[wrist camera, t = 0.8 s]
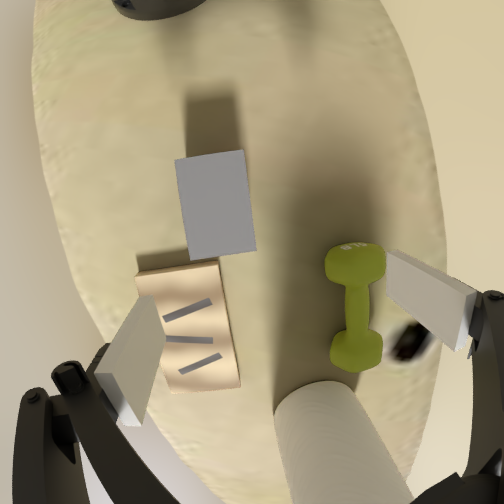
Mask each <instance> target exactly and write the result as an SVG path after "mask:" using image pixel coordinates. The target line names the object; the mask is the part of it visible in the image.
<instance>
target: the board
mask: <svg viewBox="0 0 504 504" xmlns="http://www.w3.org/2000/svg"><path fill="white" fill-rule="evenodd" d="M134 278H135V282H136V286H137V290H138V294H139V297H140V296H146V295H153V297H154V301H155V304H156V307H157V310H158V314H159V317H160V320H161V323H162V326H163V329H164V332H165V335H166V338H167V339H166V342H165V345H164V348H163V352H162V355H161V358H160V364H161V367H162V370H163V372H164V375H165V378H166V380H167V383H168V386H169V388H170V391H171V393H172V394H179V393H193V392H205V391H215V390H224V389H232V388H239V387H241V384H240V376H239V371H238V366H237V361H236V356H235V351H234V346H233V341H232V336H231V330H230V325H229V320H228V314H227V309H226V303H225V298H224V292H223V286H222V280H221V274H220V268H219V262H218V260H217V261H210V262H203V263H196V264H189V265H182V266H176V267H169V268H162V269H155V270H148V271H141V272H138V273H137V275H136V276H135V277H134Z"/></svg>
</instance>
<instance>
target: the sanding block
mask: <svg viewBox="0 0 504 504" xmlns="http://www.w3.org/2000/svg"><path fill="white" fill-rule="evenodd" d="M175 168H176V176H177V183H178V190H179V197H180V203H181V210H182V216H183V222H184V228H185V234H186V240H187V245H188V251H189V256H190V261H191V260H197V259H204V258H211V257H218V256H225V255H231V254H238V253H245V252H252V251H257V249H256V242H255V234H254V226H253V218H252V210H251V202H250V195H249V187H248V179H247V171H246V164H245V156H244V149H243V150H235V151H227V152H220V153H213V154H207V155H200V156H194V157H188V158H183V159H177V160H175Z"/></svg>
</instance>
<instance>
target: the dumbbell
mask: <svg viewBox="0 0 504 504" xmlns="http://www.w3.org/2000/svg"><path fill="white" fill-rule="evenodd" d="M324 265H325V273H326V276H327V278H328V279H329V280H330V281H333V282H335V283H339V284H342V285H344V286H345V287H346V291H345V318H346V327H347V330H344V331H341V332H338V333H337V334H336V335H335V336H334V338H333V341H332V344H331V348H330V361H331V363H332V364H333V365H335V366H337V367H339V368H341V369H343V370H345V371H347V372H350V373H358V372H362V371H365V370H368V369H370V368H373V367H375V366H377V365H378V364H379V363H380V362H381V358H382V349H383V341H382V337H381V335H380V334H379V333H377V332H375V331H373V330H370V329H368V325H369V291H368V285H369V284H370V283H373V282H375V281H377V280H379V279H381V278H382V277H383V275H384V273H385V269H386V256H385V251H384V249H383V248H382V247H381V246H379V245H376V244H371V243H364V242H352V243H346V244H342V245H338V246H335V247H333V248H331V249H330V250H329V251H328V253H327V255H326V257H325V261H324Z"/></svg>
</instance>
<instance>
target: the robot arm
mask: <svg viewBox="0 0 504 504" xmlns="http://www.w3.org/2000/svg"><path fill="white" fill-rule="evenodd" d="M204 1H205V0H112V2H113V4H114V6H115V7H116V9H117V10H118V11H119V12H120V13H121V14H122V15H124V16H126V17H128V18H131V19H135V20H159V19H164V18H169V17H173V16H176V15H179V14H182V13H184V12H187V11H189V10H191V9H193V8H195V7H197V6H198V5H200V4H201V3H203V2H204ZM386 296H388V297H389V298H390V299H391V300H393V301H394V302H395V303H396V304H398V305H399V306H400V307H401V308H403V309H404V310H405V311H406V312H408V313H409V314H410V315H411V316H412V317H414V318H415V319H416V320H417V321H418V322H420V323H421V324H422V325H423V326H424V327H426V328H427V329H428V330H429V331H430V332H432V333H433V334H434V335H435V336H436V337H437V338H439V339H440V340H441V341H442V342H443V343H444V344H446V345H447V346H448V347H449V348H450V349H451V350H453V351H454V352H455V351H457V350H459V349H461V348H462V347H464V346H465V345H466V341H467V337H468V334H469V335H470V336H471V337H473V340H472V344H471V347H470V350H469V354H468V358H467V359H469V358H470V356H471V355H472V365H473V417H472V432H471V443H470V451H469V459H468V464H467V467H466V470H465V472H464V474H463V476H462V477H459V475H458V474H457V472H455V473H454V474H452V475H450V476H449V477H447V478H446V479H444V480H442V481H441V482H439V483H437V484H436V485H434V486H432V487H430V488H429V489H427V490H426V491H424V492H423V493H422V494H421V495H419V496H418V497H417V498H416V499H415V500H413V501H412V502H411V503H410V504H504V294H503V293H501V292H499V291H494V290H490V291H485V292H484V293H481V292H479V291H477V290H475V289H474V288H472V287H470V286H468V285H466V284H465V283H463V282H461V281H459V280H457V279H455V278H453V277H451V276H449V275H447V274H445V273H443V272H441V271H439V270H437V269H435V268H433V267H431V266H429V265H428V264H426V263H424V262H422V261H420V260H418V259H416V258H414V257H411V256H409V255H407V254H405V253H403V252H401V251H399V250H393V251H389V252H387V284H386ZM166 339H167V338H166V335H165V332H164V329H163V326H162V323H161V320H160V317H159V314H158V310H157V307H156V304H155V301H154V297H153V295H146V296H140V297H139V298H138V300H137V302H136V303H135V305H134V306H133V308H132V309H131V311H130V313H129V314H128V316H127V317H126V319H125V321H124V322H123V324H122V326H121V327H120V329H119V330H118V332H117V334H116V335H115V337H114V339H113V340H112V342H111V343H106V344H105V345H104V346H103V347H101V348H100V349H99V351H98V352H97V354H96V355H95V358H94V359H93V360H92V363H91V364H90V366H89V367H88V369H87V370H86V372H85V371H84V369H83V367H82V365H81V364H80V363H79V362H78V361H67V362H64V363H62V364H60V365H58V366H57V367H56V368H55V369H54V370H53V372H52V373H51V378H52V379H53V381H54V383H55V385H56V387H57V388H58V390H59V392H60V393H61V395H55V396H50V397H49V395H48V394H47V392H46V391H45V390H44V389H43V388H40V387H37V388H33V389H30V390H28V391H27V392H26V393H25V395H24V396H23V397H22V399H21V403H20V408H19V414H18V420H17V427H16V435H15V444H14V455H13V475H12V496H13V504H90V501H89V497H88V493H87V488H86V483H85V479H84V473H83V468H82V462H81V456H80V448H79V442H81V444H82V447H83V449H84V451H85V453H86V455H87V457H88V459H89V461H90V463H91V465H92V467H93V469H94V470H95V472H96V474H97V476H98V478H99V480H100V481H101V483H102V485H103V486H104V488H105V490H106V492H107V493H108V495H109V496H110V498H111V500H112V501H113V503H114V504H180V503H179V502H178V501H177V500H176V498H175V497H173V495H172V494H171V493H170V492H169V491H168V490H167V489H166V488H165V487H164V485H163V484H162V483H161V482H160V481H159V480H158V479H157V477H156V476H155V475H154V474H153V473H152V472H151V470H150V469H149V468H148V467H147V465H146V464H145V463H144V462H143V460H142V459H141V458H140V457H139V456H138V454H137V453H136V451H135V450H134V449H133V447H132V446H131V445H130V443H129V442H128V441H127V439H126V438H125V436H124V435H123V433H122V432H121V430H120V429H119V428H118V426H117V425H116V421H117V419H118V416H119V418H120V419H121V421H122V422H123V424H124V426H142V423H143V419H144V415H145V412H146V408H147V404H148V400H149V397H150V393H151V389H152V386H153V382H154V379H155V375H156V372H157V368H158V365H159V362H160V358H161V355H162V352H163V348H164V345H165V342H166Z"/></svg>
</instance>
